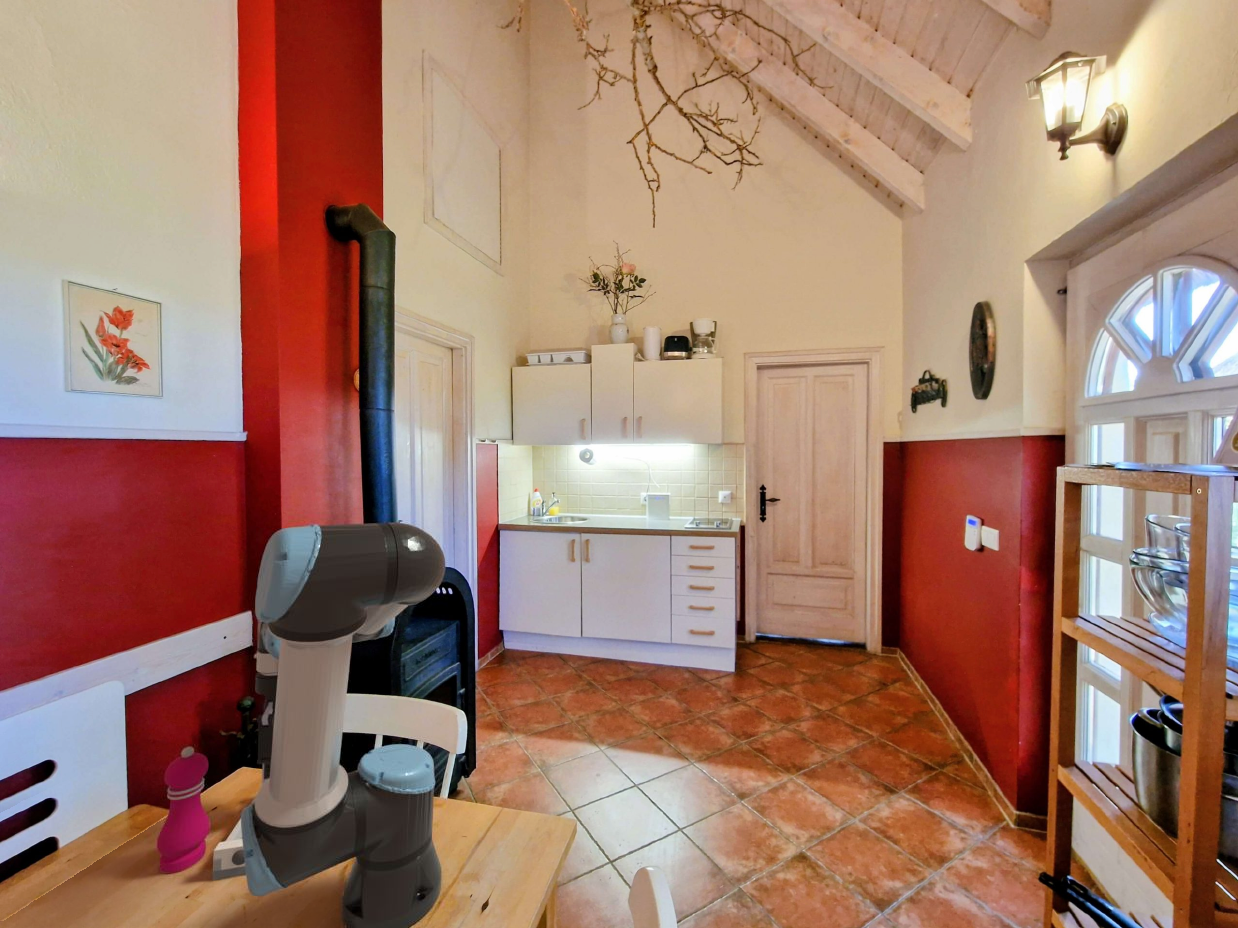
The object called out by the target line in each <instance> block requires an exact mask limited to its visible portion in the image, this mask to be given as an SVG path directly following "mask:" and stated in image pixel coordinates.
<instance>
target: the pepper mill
mask: <svg viewBox="0 0 1238 928" xmlns="http://www.w3.org/2000/svg"><path fill="white" fill-rule="evenodd" d="M180 755H181V756H178V757H177V758H176V759H174V760H173V761H172V762H171V763H170V764H169V765H168V766H167V768H166V769H165V772H164V779H163V780H164V783H165V784H166V786H167V789H166V791H167V795H166V796H167V799H168V800H170V801H169V802H170V805H169V811H168V814H167V816H166V819H165V821H164V822H163V825H162V827H161V829H160V830H159V833H158V836H157V840H156V850H157V852H158V853H159V854H161V855H160V857H159V870H160V872H161V873H164V874H173V873H179V872H182V871H184V870H186V869H187V870H188V869H189V868H191V867H193V866H194V865H196V864H197V863H198V862H200V861H201V860H202V859H203V857H205V855H206V851H207V842H206V839H207V837H208V835H209V834H210V830H211V823H210V822H211V821H210V818H209V815H208V814H207V812H206V810H205V808H204V806H203V805H202V804H203V803H202V799H201V797H202V796H201V792H202V790H203V789H204V787H205V778H204V776H205V775H206V774H207V772H208V770H209V759H208V757H207V756H206V755H204V754H202V753H200V752H195V748H193V747H192V746H187V747H184V748H183V749H182V751H181V753H180Z"/></svg>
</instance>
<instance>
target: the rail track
mask: <svg viewBox="0 0 1238 928" xmlns="http://www.w3.org/2000/svg"><path fill="white" fill-rule="evenodd" d="M260 783H261V786H262V781H261V782H260ZM257 794H258V792H257ZM257 794H256V795H255V797H254V798H253V799H252V801H251V802H250V804H249V805H251V804H252V803H255V799H256V796H257ZM212 860H213V861H212V881H216V880H217V881H218V880H222V879H229V878H234V877H235V878H236V877H240V876H246V869H245V858H244V848H243V841H242V829H241V818H240V819H239V820H238V822H237V823H236V825H235V826H234V828H233V830H232V831H231V832H230V834H229V835H228V837H227V839H226V840H225V841H220V842H218V844H217V845H216V846H215V847H214V849H213V859H212Z"/></svg>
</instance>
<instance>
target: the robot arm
mask: <svg viewBox="0 0 1238 928" xmlns="http://www.w3.org/2000/svg"><path fill="white" fill-rule="evenodd" d="M445 573H446V558H445V555H444V551H443V549H442V547H441V546H440V544H439V543H438V541H437V540H436V539H435V538H434V537H433V536H432V535H431V534H430V533H428V532H426V531H425V530H423V529H421V528H419V527H418V526H415V525H411V524H409V523H402V522H383V523H382V522H381V523H377V522H376V523H354V524H352V523H351V524H350V523H349V524H325V525H321V524H320V525H318V524H316V523H315V524H309V525H306V526H294V527H286V528H282V529H279V530H277V531H276V532H274V534H272V535H271V537H270V538H269V539H268V542H267V544H266V545H265V549H264V552H263V554H262V558H261V561H260V566H259V572H258V575H257V576H258V577H257V583H256V584H257V585H256V586H257V587H256V591H255V592H256V593H255V600H254V601H255V603H254V607H255V608H254V609H255V610H254V614H255V617H256V619H257V647H256V648H257V649H256V653H255V654H254V655H253V658H254V659H256V668H255V669H256V671H257V673H256V674H255V685H254V687H255V688H254V689H255V692H256V693H257V694H258V695H262V696H264V697H265V698H264V699H265V700H264V701H263V703H262V708H261V709H262V711H263V712H262V713H263V714H259V715H258V716H257V718H256V721H257V726H258V728H257V729H258V730H257V738H258V739H257V760H256V763H257V765H261V766H262V769H261V771H262V772H261V782H262V786H261V787H260V788H259V790H258V792H257V793H258V794H256V795H257V796H256V795H255V796H256V799H255V803H252V804H251V803H250V804H251V805H250V804H249V805H248V806H246V807H244V808H243V809H242V810H241V813H240V819H241V829H242V841H243V848H244V858H245V869H246V875H245V876H246V882H247V887H248V888H247V890H248V891H249V893H250V894H251V895H252V896H253V897H264V896H267V895H269V894H272V893H275V892H277V891H280V890H281V891H283V890H285V889H287V888H289V887H291V886H293V885H295V884H297V883H299V882H301V881H305V880H307V879H308V878H312V877H313V876H315V875H318V874H319V873H320V874H321V873H322V872H324V871H326V870H328V869H331V868H333V867H336V866H338V865H340V864H342V863H346V862H347V861H350V860H351V859H354V858H355V859H354V861H353V863H352V867H351V869H350V872H349V875H348V878H347V881H346V884H345V887H344V889H343V893H342V897H341V912H340V913H341V915H340V916H341V920H342V923H343V925H344V927H345V928H410V927H412V926H413V925H414V924H416V923H418V922H419V921H420V920H421V919H422V918H424V917H425V916H426V915H427V914H428V913H429V911H431V910H432V908H433V906H434V905H435V904H436V902H437V901H438V899H439V896H440V893H441V889H442V880H443V879H442V872H443V871H442V865H441V861H440V859H439V857H438V853H437V849H436V847H435V844H434V841H433V826H434V825H433V821H434V820H433V819H434V795H435V794H434V793H435V786H436V779H435V766H434V759H433V757H432V756H431V754H430V753H429V752H428V751H426V750H425V749H423V748H422V747H420V746H416V745H412V744H402V743H398V744H395V743H393V744H387V745H384V746H379V747H376V748H374V749H371V750H369V751H368V753H365V754H363V756H362V757H361V758H360V760H359V763H358V764H357V770H354V771H350V772H347V771H346V770H345V767H343V765H341V764H340V760H341V751H342V750H341V748H342V740H343V730H344V729H343V728H344V721H345V720H344V719H345V711H346V702H347V694H348V693H347V691H348V684H349V683H348V682H349V675H350V674H349V673H350V664H351V662H350V661H351V656H352V655H351V654H352V645H353V644H352V643H358V642H363V641H365V642H366V641H369V640H370V641H373V640H378V639H380V638H385V637H388V636H390V635H391V634H392V633H393V631H394V627H395V621H396V617H397V616H398V615H399V614H401V613H402V612H403V611H404V610H405V609H406V608H407V607H408V606H413V605H417V604H419V603H421V602H423V601H425V600H427V598H429V597H430V596H431V595H432V594H434V592H436V590H437V589H438V588H439V587H440V585H441V584H442V582H443V579H444V576H445Z"/></svg>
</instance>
